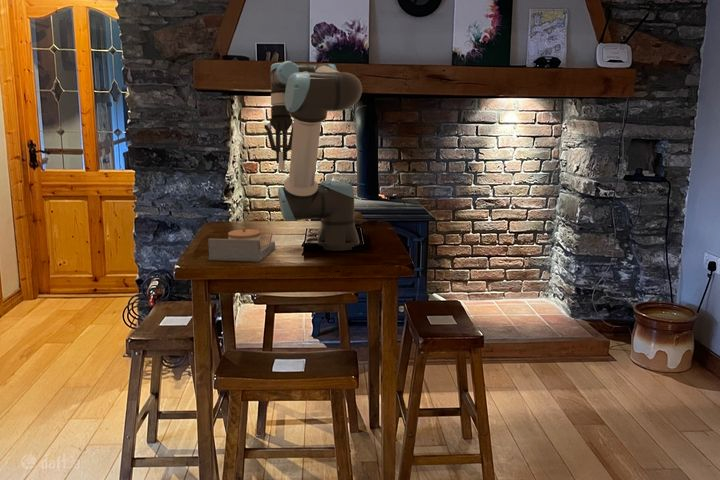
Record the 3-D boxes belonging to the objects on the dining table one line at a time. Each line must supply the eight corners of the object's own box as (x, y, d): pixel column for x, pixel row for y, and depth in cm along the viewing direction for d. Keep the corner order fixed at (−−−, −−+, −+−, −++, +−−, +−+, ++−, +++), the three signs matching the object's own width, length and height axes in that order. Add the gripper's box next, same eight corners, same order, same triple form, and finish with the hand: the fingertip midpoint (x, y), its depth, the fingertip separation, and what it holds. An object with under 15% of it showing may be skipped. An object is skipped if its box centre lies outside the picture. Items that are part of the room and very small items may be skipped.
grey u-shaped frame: (275, 248, 228) (274, 229, 226) (259, 261, 210) (258, 240, 208) (229, 247, 230) (228, 228, 229) (209, 260, 213) (208, 239, 211)
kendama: (327, 223, 275) (371, 225, 268) (318, 228, 267) (363, 230, 260) (326, 210, 274) (370, 211, 267) (317, 214, 265) (362, 215, 258)
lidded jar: (254, 258, 214) (253, 231, 212) (224, 257, 216) (222, 230, 214) (265, 251, 224) (264, 224, 222) (236, 250, 226) (234, 224, 224)
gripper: (300, 107, 244) (301, 170, 244) (267, 108, 245) (267, 170, 246) (295, 103, 236) (296, 168, 237) (261, 105, 238) (262, 169, 239)
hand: (281, 169), depth 241 cm, fingers closed
